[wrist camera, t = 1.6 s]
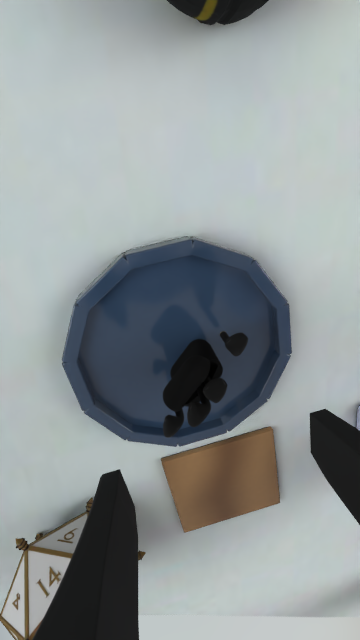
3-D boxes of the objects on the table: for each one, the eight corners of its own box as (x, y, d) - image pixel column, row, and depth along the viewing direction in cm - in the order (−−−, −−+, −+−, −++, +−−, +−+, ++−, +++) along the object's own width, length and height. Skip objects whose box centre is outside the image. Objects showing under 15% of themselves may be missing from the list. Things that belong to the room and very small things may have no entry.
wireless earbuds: (166, 402, 20) (180, 467, 15) (133, 387, 19) (136, 450, 14) (233, 317, 18) (270, 360, 14) (200, 295, 17) (228, 334, 13)
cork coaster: (270, 426, 23) (273, 429, 22) (278, 498, 26) (280, 503, 26) (160, 458, 22) (161, 462, 22) (183, 528, 26) (184, 533, 25)
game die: (61, 476, 26) (-47, 546, 16) (158, 488, 24) (102, 575, 15) (52, 592, 25) (-70, 740, 15) (153, 613, 23) (88, 797, 14)
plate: (275, 214, 17) (284, 216, 16) (287, 403, 22) (295, 413, 21) (30, 273, 16) (24, 279, 15) (107, 455, 21) (106, 468, 20)
